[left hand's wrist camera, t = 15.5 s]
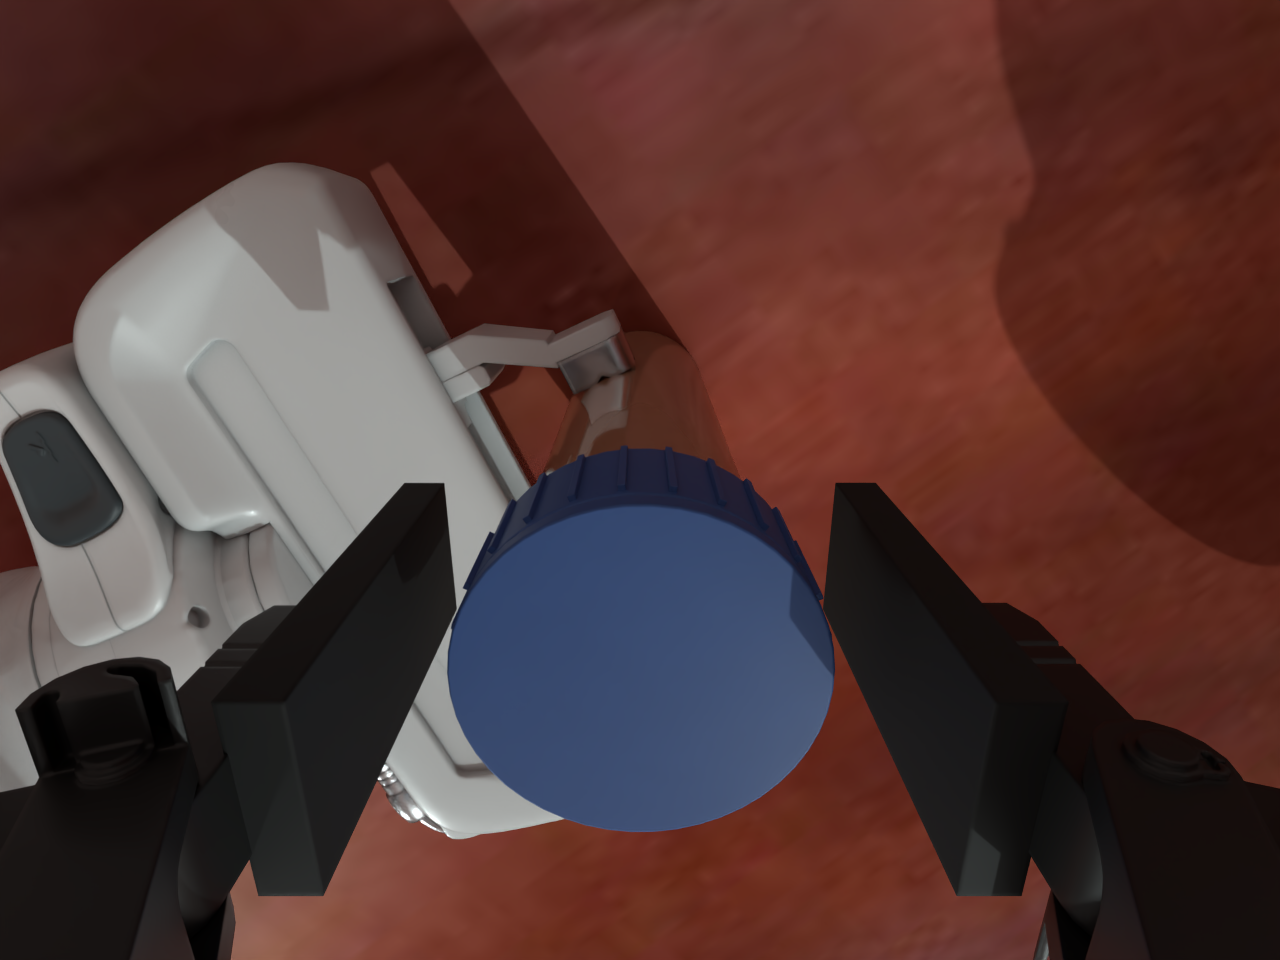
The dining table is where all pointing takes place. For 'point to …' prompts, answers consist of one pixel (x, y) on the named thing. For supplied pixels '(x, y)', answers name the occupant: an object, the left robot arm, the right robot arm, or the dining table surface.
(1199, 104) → the dining table surface
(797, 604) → the lid
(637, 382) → the jar
